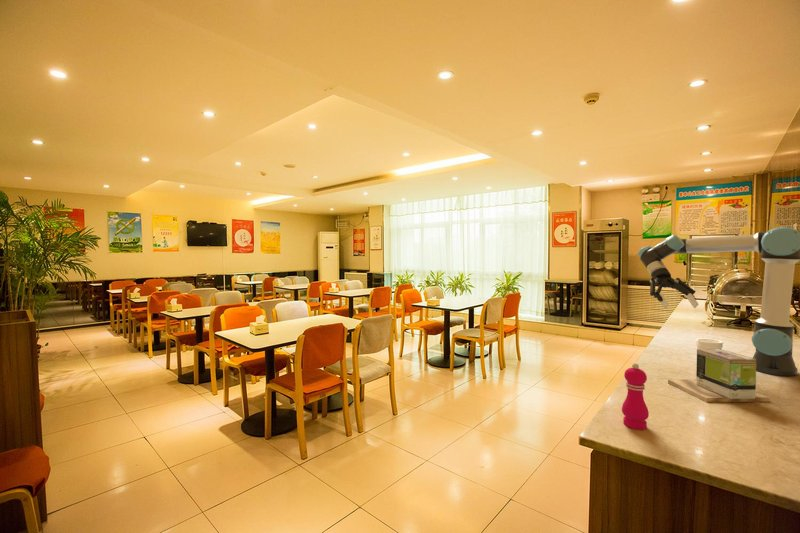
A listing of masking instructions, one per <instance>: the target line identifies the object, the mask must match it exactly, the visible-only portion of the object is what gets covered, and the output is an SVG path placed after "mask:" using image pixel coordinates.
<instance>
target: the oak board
mask: <svg viewBox="0 0 800 533" xmlns="http://www.w3.org/2000/svg"><path fill="white" fill-rule="evenodd" d="M667 383H668V384H669V385H671V386H673V387H674V388H677V389H679V390H681V391H683V392H684V393H687V394H689V395H691V396H693V397H695V398H697V399H699V400H701V401H703V402H705V403H729V402H730V403H731V402H732V403H734V402H735V403H737V402H738V403H740V402H742V403H743V402H746V403H747V402H748V403H749V402H751V403H753V402H770V401H771V400H770V397H769V396H768V395H765V394H763V393H759V392H757V391H756V394H755V399H729V398H727V397H725V396H723V395H720V394H718V393H716V392H713V391H711V390H709V389H706V388H704V387H701V386H699V385H697V384H696V378H695V379H668V380H667Z"/></svg>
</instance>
